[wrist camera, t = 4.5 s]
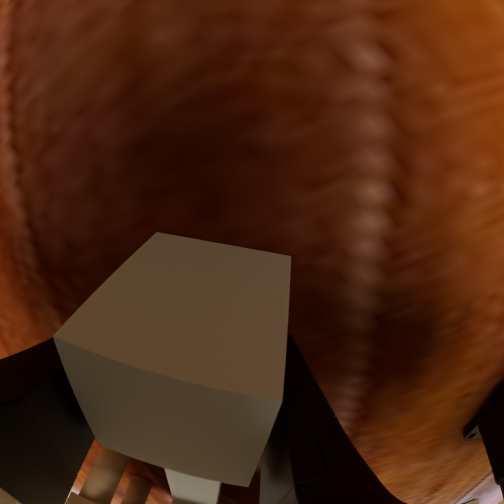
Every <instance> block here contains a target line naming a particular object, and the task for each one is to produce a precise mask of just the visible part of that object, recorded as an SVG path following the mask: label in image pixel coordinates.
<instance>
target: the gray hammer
mask: <svg viewBox="0 0 504 504" xmlns="http://www.w3.org/2000/svg"><path fill="white" fill-rule="evenodd" d="M290 274H291V256H288V255H282V254H277V253H271V252H266V251H260V250H255V249H249V248H243V247H238V246H232V245H227V244H221V243H215V242H210V241H204V240H199V239H193V238H187V237H182V236H176V235H170V234H165V233H159V232H156V233H155V234H154V235H153V236H152V237H151V238H150V239H149V240H148V241H147V242H145V243H144V244H143V245H142V246H141V247H140V248H139V249H138V250H137V251H136V252H135V253H134V254H133V255H132V256H131V257H130V258H128V259H127V260H126V261H125V262H124V263H123V264H122V265H121V266H120V267H119V268H118V269H117V270H116V271H115V272H114V273H113V274H112V275H111V276H110V277H109V278H108V279H107V280H106V281H105V282H104V283H103V284H102V285H101V286H100V287H99V288H98V289H97V290H96V291H95V292H94V293H93V294H92V295H91V296H90V297H89V298H88V299H87V300H86V301H85V302H84V303H83V304H82V305H81V306H80V307H79V308H78V310H77V311H76V312H75V313H74V314H73V315H72V316H71V317H70V318H69V319H68V320H67V321H66V322H65V323H64V324H63V326H62V327H61V328H60V329H59V330H58V331H57V332H56V333H55V334H54V335H53V338H54V341H55V344H56V347H57V350H58V353H59V356H60V359H61V361H62V364H63V367H64V369H65V372H66V375H67V377H68V380H69V382H70V384H71V387H72V389H73V392H74V394H75V396H76V399H77V401H78V403H79V405H80V407H81V410H82V412H83V414H84V416H85V418H86V420H87V422H88V424H89V426H90V428H91V430H92V432H93V434H94V436H95V438H96V440H97V442H98V443H99V444H100V445H102V446H104V447H107V448H109V449H112V450H114V451H117V452H119V453H122V454H124V455H127V456H130V457H132V458H135V459H138V460H141V461H144V462H147V463H150V464H153V465H156V466H159V467H162V468H165V472H166V476H167V480H168V483H169V487H170V490H171V494H172V497H173V501H174V504H218V500H219V496H220V491H221V486H222V483H227V484H232V485H238V486H244V487H249V485H250V482H251V480H252V477H253V475H254V473H255V470H256V468H257V465H258V463H259V461H260V458H261V456H262V453H263V451H264V448H265V446H266V443H267V440H268V438H269V435H270V433H271V430H272V427H273V425H274V422H275V419H276V417H277V414H278V411H279V408H280V406H281V403H282V399H283V387H284V374H285V361H286V346H287V331H288V314H289V295H290Z"/></svg>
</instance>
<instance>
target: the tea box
mask: <svg viewBox="0 0 504 504" xmlns="http://www.w3.org/2000/svg"><path fill="white" fill-rule="evenodd" d="M465 504H479V502H478V499H476V500H473V501H470V502H468V503H465Z"/></svg>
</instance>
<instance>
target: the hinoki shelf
mask: <svg viewBox="0 0 504 504" xmlns="http://www.w3.org/2000/svg"><path fill="white" fill-rule="evenodd" d="M129 459H130V456H127V455H124V454H122V453H119V452H117V451H114V450H112V449H109V448H107V447H104V446H102V448H101V450H100V452H99V454H98V456H97V458H96V460H95V462H94V464H93V466H92V468H91V470H90V472H89V474H88V477H87V479H86V481H85V483H84V485H83V487H82V489H81V491H80V493H79V495H78V494H76V493H74V492H71V494H70V496H69V498H68V500H67V502H66V504H110V503H111V501H112V498H113V496H114V493H115V491H116V489H117V486H118V484H119V482H120V479H121V477H122V475H123V472H124V470H125V468H126V465H127V463H128V461H129ZM151 486H152V483H151V482H150V481H148V480H146V479H144V478H142V477H139V476H132V477H131V480H130V482H129V485H128V487H127V490H126V492H125V495H124V497H123V499H122V502H121V504H145V503H146V500H147V497H148V495H149V492H150V489H151Z"/></svg>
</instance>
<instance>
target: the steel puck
mask: <svg viewBox="0 0 504 504" xmlns="http://www.w3.org/2000/svg"><path fill="white" fill-rule="evenodd" d="M171 504H174V501H173V500H172V503H171ZM218 504H236V502H235V501H234V500H232V499H231V498H229V497H226V496H224V495H221V494H220V496H219V500H218Z"/></svg>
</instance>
